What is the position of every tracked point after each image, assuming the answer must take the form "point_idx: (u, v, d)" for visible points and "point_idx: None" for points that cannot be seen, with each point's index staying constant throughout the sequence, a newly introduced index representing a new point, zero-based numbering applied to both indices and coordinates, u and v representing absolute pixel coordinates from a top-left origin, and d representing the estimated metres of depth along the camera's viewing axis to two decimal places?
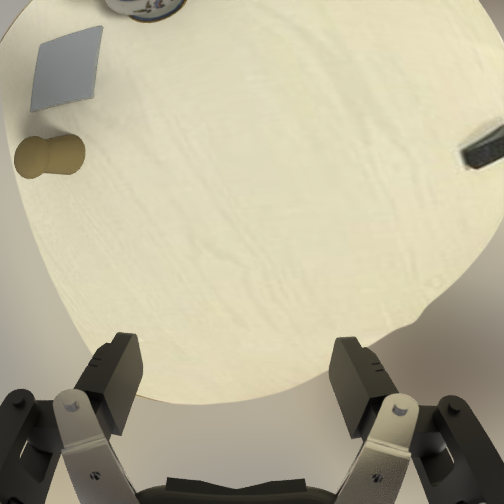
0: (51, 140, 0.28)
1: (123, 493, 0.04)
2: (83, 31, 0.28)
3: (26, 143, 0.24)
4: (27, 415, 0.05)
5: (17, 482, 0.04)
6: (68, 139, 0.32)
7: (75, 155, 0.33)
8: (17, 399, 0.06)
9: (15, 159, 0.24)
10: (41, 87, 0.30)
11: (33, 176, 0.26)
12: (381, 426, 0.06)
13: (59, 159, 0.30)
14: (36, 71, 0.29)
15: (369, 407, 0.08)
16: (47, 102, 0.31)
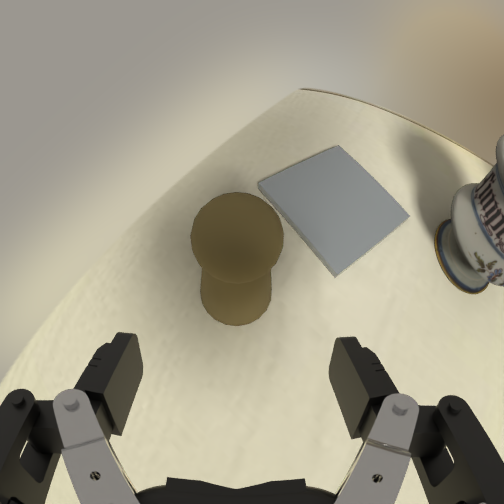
0: None
1: (123, 493, 0.04)
2: (390, 196, 0.30)
3: (268, 212, 0.16)
4: (27, 415, 0.05)
5: (17, 482, 0.04)
6: (270, 283, 0.22)
7: (252, 311, 0.22)
8: (17, 399, 0.06)
9: (220, 199, 0.16)
10: (298, 181, 0.30)
11: (207, 263, 0.15)
12: (381, 426, 0.06)
13: (245, 294, 0.19)
14: (310, 160, 0.31)
15: (369, 407, 0.08)
16: (287, 205, 0.28)
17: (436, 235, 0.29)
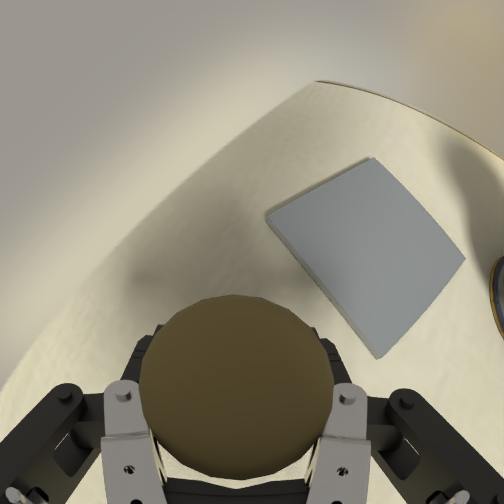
0: None
1: (153, 492, 0.04)
2: (442, 232, 0.20)
3: (308, 359, 0.06)
4: (76, 409, 0.06)
5: (45, 474, 0.04)
6: None
7: None
8: (64, 393, 0.06)
9: (194, 325, 0.07)
10: (324, 212, 0.20)
11: (177, 458, 0.06)
12: None
13: None
14: (339, 180, 0.22)
15: None
16: (310, 251, 0.19)
17: (492, 281, 0.19)
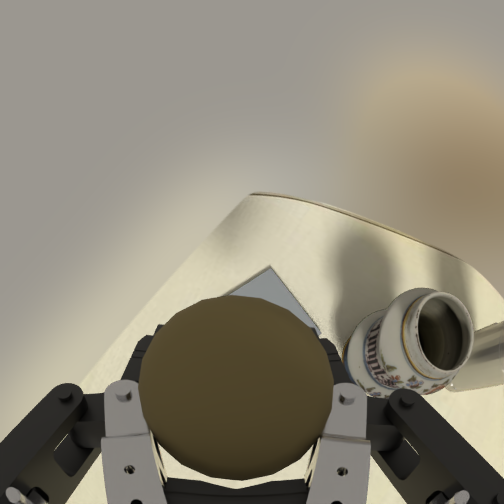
0: None
1: (153, 492, 0.04)
2: (307, 317, 0.40)
3: (307, 359, 0.06)
4: (76, 409, 0.06)
5: (45, 474, 0.04)
6: None
7: None
8: (64, 393, 0.06)
9: (194, 325, 0.07)
10: None
11: None
12: None
13: None
14: (243, 288, 0.41)
15: None
16: None
17: (345, 345, 0.39)
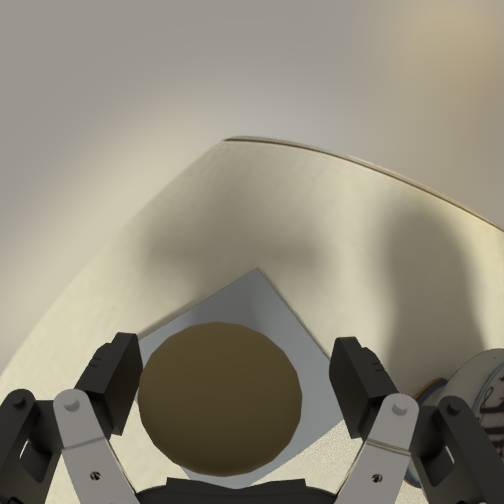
0: None
1: (123, 493, 0.04)
2: None
3: (277, 379, 0.07)
4: (27, 415, 0.05)
5: (17, 482, 0.04)
6: None
7: None
8: (17, 399, 0.06)
9: (182, 349, 0.08)
10: None
11: (169, 457, 0.07)
12: (381, 426, 0.06)
13: None
14: (197, 310, 0.19)
15: (369, 407, 0.08)
16: None
17: None
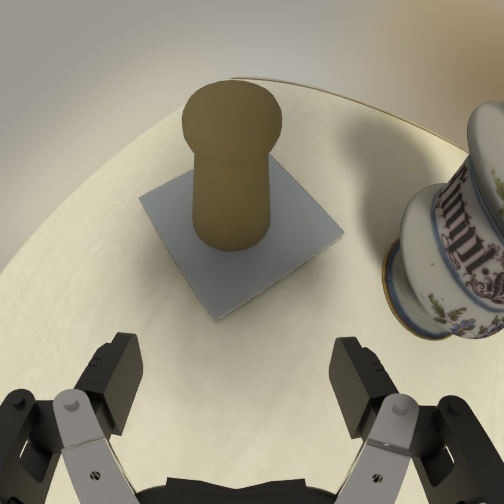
0: (267, 158, 0.17)
1: (123, 493, 0.04)
2: (317, 206, 0.23)
3: (265, 91, 0.13)
4: (27, 415, 0.05)
5: (17, 482, 0.04)
6: (269, 198, 0.20)
7: (250, 227, 0.19)
8: (17, 399, 0.06)
9: (214, 83, 0.13)
10: (187, 192, 0.23)
11: (198, 135, 0.13)
12: (381, 426, 0.06)
13: (241, 194, 0.16)
14: None
15: (369, 407, 0.08)
16: (165, 225, 0.22)
17: (386, 258, 0.22)
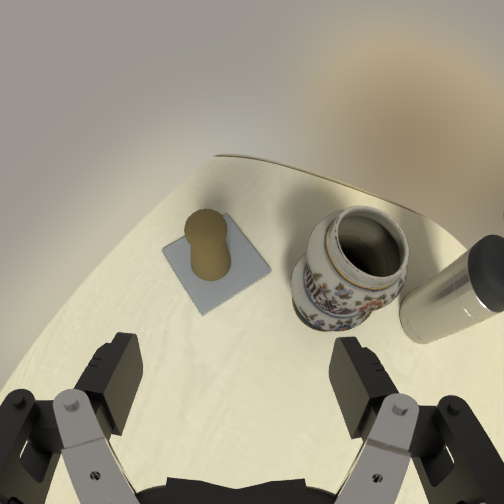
0: (224, 240, 0.38)
1: (123, 493, 0.04)
2: (257, 255, 0.44)
3: (219, 218, 0.34)
4: (27, 415, 0.05)
5: (17, 482, 0.04)
6: (228, 255, 0.41)
7: (218, 270, 0.40)
8: (17, 399, 0.06)
9: (197, 212, 0.34)
10: (187, 247, 0.44)
11: (191, 241, 0.33)
12: (381, 426, 0.06)
13: (212, 259, 0.37)
14: None
15: (369, 407, 0.08)
16: (176, 266, 0.43)
17: None
